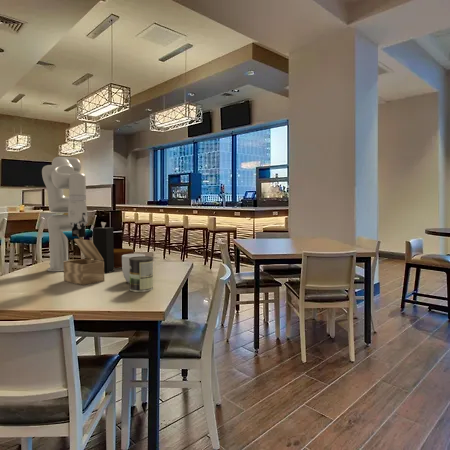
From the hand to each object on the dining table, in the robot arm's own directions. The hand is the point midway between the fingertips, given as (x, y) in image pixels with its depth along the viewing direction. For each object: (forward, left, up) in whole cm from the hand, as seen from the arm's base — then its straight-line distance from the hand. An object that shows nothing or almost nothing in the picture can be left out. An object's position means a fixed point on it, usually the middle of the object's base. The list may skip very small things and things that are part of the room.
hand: (78, 236), depth 173 cm
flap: (0, +3, -5) cm, 6 cm away
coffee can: (+36, +8, -23) cm, 43 cm away
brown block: (-20, +37, -22) cm, 48 cm away
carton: (0, +2, -22) cm, 22 cm away
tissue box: (-13, +22, -22) cm, 34 cm away
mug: (+21, +17, -23) cm, 35 cm away
